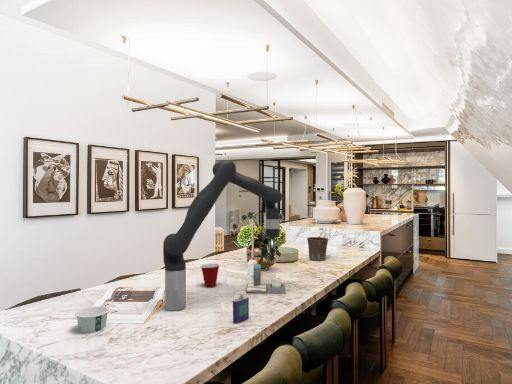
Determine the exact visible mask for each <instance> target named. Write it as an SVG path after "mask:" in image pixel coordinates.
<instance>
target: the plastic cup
mask: <svg viewBox="0 0 512 384" xmlns="http://www.w3.org/2000/svg"><path fill="white" fill-rule="evenodd" d="M220 265H221V264H220V263H205V264H201V265H200V266H199V267H200V268H201V272H202V277H203V282H204V287H206V288H208V289H211V288H212V289H213V288H215V287H216V285H217V281H218V280H217V279H218V273H219V269H220V268H219V267H220Z"/></svg>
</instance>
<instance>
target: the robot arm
mask: <svg viewBox="0 0 512 384" xmlns="http://www.w3.org/2000/svg"><path fill="white" fill-rule="evenodd" d="M212 173H213V178H212V179H211V180H210V182H209V183H208V184H207V185H206V186H205V187H204V188H202V190H200V191H199V192H198V194H196V196H195V197H194V198H193V201H191V203H190V205H189V207H188V209H187V211H186V216H185V218H184V221H183V223H182V224H181V226H180V227H179V228H178V231H176V233H170V234H168V235H166V236H165V238H164V240H163V242H162V243H163V245H162V246H163V247H162V253H163V255H162V256H163V257H162V258H163V265H164V308H165V311H181V310H184V309H186V307H187V303H186V302H187V300H186V299H187V296H186V295H187V284H186V282H187V280H186V279H187V277H186V276H187V266H186V265H187V264H186V261H185V258H184V253H186V251H187V250H188V249H189V246H190V245H191V242H192V240H193V238H194V236H195V235H196V233H197V231H198V230H199V228H200V227H201V225H202V223H203V222H204V221H205V219H206V218H207V216H208V215H209V213H210V212H211V210H212V208H213V207H214V206H215V204H216V202H217V201H218V199H219V197H220V196H221V194H222V192H223V191H224V189H225V188H226V187H227V185H229V184H233V185H235V186H238V187H239V188H242V189H244V190H245V191H248V192H250V193H251V194H253V195H255V196H256V197H257V196H258V197H260V198H263V204H264V209H265V222H264V223H265V224H264V225H265V229H264V235H265V237H266V238H269V239H268V250H269V261H275V252H276V251H275V250H276V244H277V240H276V239H275V238H279V237H280V231H281V229H280V224H281V223H280V209H279V208H278V207H277V206H276V204H278V203H280V202H281V201H282V199H283V194H282V192H281V191H280V190H279V189H277V188H274V187H272V186H269V185H267V184H264V183H263V182H261V181H259V180H257V179H256V178H254V177H250V176H247V175H245V174H242V173H241V172H240V173H239V172H238V171H237V166H236V163H234V162H233V161H232V160H229V159H228V160H227V159H225V160H220V161H217V162H216V163H214V164H213V167H212Z"/></svg>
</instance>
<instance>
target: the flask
mask: <svg viewBox="0 0 512 384" xmlns="http://www.w3.org/2000/svg"><path fill="white" fill-rule="evenodd" d="M249 299H250V297H249V296H248V295H245V294H242V293H240V294H239V297H238V298H235V299H233V301H232V324H233V325H237V324H241V323H242V322H244V321H247V320H248V319H249V318H250V312H249V311H250V306H249V305H250V303H249V302H250V300H249Z"/></svg>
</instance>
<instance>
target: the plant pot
mask: <svg viewBox="0 0 512 384" xmlns="http://www.w3.org/2000/svg"><path fill="white" fill-rule="evenodd" d="M306 240H307V245H308V259H309V260H311V261H315V262H316V261H320V262H321V261H322V262H323V261H325V260H326V256H327V248H328V246H327V245H328V243H329V238H327V237H321V236H315V237H314V236H309V237H307V238H306Z"/></svg>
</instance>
